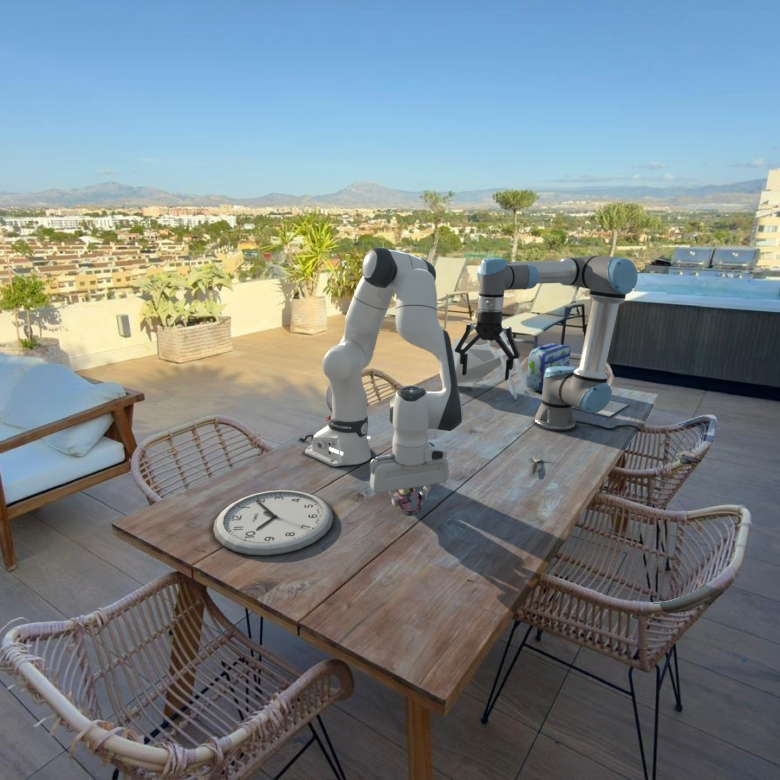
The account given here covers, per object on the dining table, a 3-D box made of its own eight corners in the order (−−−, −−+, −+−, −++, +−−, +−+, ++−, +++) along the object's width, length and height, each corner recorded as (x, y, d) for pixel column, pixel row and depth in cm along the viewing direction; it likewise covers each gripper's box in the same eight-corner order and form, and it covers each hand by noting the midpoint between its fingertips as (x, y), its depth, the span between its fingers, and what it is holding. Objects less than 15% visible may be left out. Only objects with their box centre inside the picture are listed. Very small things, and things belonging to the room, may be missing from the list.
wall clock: (331, 546, 121) (198, 551, 119) (331, 552, 122) (199, 557, 119) (333, 485, 150) (227, 488, 147) (334, 490, 150) (227, 493, 148)
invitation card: (608, 416, 214) (573, 407, 224) (608, 416, 214) (573, 408, 224) (628, 404, 229) (594, 396, 238) (628, 405, 229) (594, 397, 238)
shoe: (397, 474, 154) (397, 447, 152) (429, 515, 132) (430, 485, 130) (370, 478, 152) (369, 451, 149) (398, 521, 130) (398, 490, 127)
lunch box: (542, 395, 240) (547, 351, 233) (522, 390, 247) (526, 347, 241) (569, 384, 257) (575, 343, 251) (550, 380, 264) (554, 339, 258)
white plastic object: (461, 429, 252) (437, 405, 227) (444, 352, 274) (420, 323, 250) (535, 404, 240) (518, 377, 215) (510, 326, 262) (492, 293, 237)
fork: (528, 475, 162) (529, 469, 161) (533, 455, 176) (534, 449, 176) (537, 476, 161) (537, 470, 160) (541, 456, 175) (542, 451, 175)
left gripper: (374, 462, 123) (374, 514, 127) (452, 451, 130) (450, 501, 134) (366, 452, 129) (366, 502, 133) (441, 441, 135) (440, 489, 139)
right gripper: (447, 308, 161) (444, 375, 168) (530, 315, 152) (523, 384, 159) (453, 305, 168) (450, 369, 174) (533, 311, 159) (526, 378, 165)
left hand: (409, 501), depth 133 cm, fingers closed on shoe, 6 cm apart
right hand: (485, 376), depth 167 cm, fingers open, 13 cm apart
